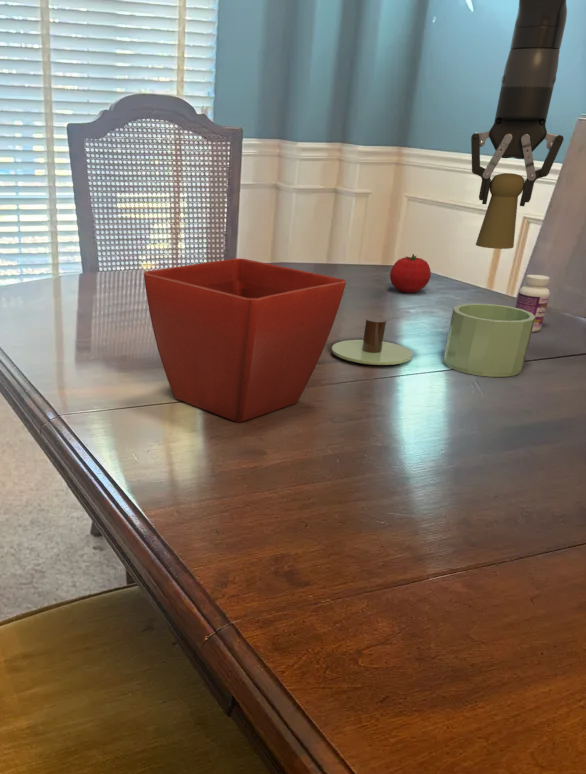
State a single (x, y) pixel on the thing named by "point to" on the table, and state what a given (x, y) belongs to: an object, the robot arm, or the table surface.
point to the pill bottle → (534, 298)
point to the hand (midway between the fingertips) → (502, 204)
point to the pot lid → (372, 347)
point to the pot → (488, 339)
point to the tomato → (410, 274)
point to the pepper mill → (501, 212)
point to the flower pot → (240, 332)
